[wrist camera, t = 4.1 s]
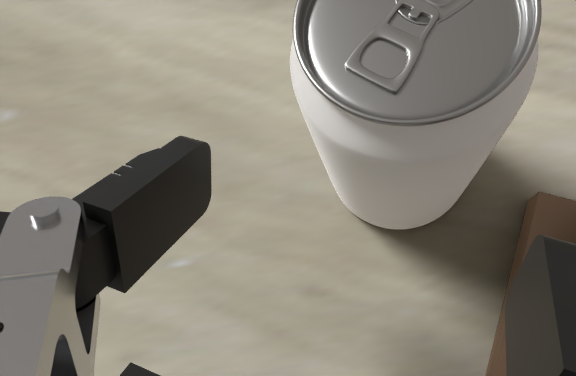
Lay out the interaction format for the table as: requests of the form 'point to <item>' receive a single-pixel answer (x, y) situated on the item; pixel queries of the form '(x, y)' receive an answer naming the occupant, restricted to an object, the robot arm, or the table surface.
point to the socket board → (537, 220)
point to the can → (410, 95)
